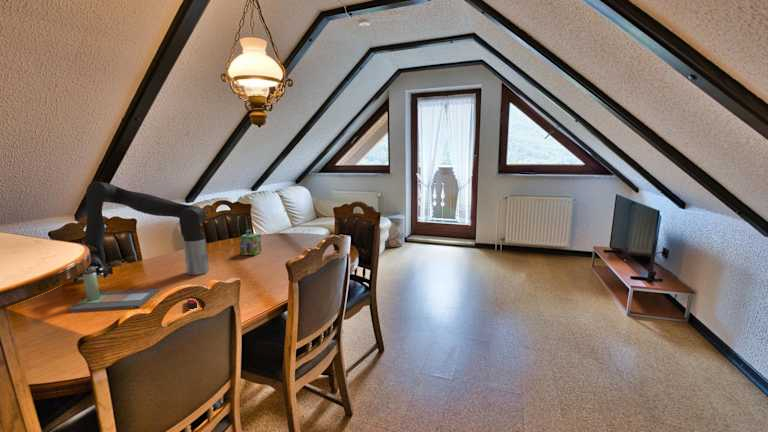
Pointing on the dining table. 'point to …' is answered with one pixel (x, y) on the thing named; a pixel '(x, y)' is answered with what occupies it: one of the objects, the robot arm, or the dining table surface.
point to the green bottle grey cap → (91, 284)
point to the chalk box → (250, 243)
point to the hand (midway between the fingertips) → (90, 277)
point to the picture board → (115, 300)
